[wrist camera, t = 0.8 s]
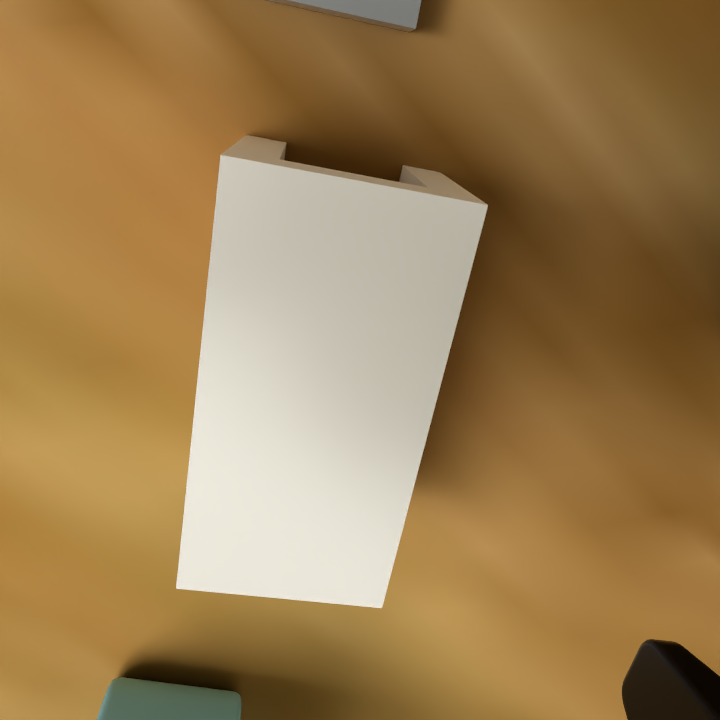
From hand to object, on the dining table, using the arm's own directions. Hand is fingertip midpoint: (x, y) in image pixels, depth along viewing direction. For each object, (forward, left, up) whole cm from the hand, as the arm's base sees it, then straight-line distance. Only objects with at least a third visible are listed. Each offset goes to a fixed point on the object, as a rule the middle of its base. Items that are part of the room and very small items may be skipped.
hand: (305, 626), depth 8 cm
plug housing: (0, 0, -11) cm, 11 cm away
